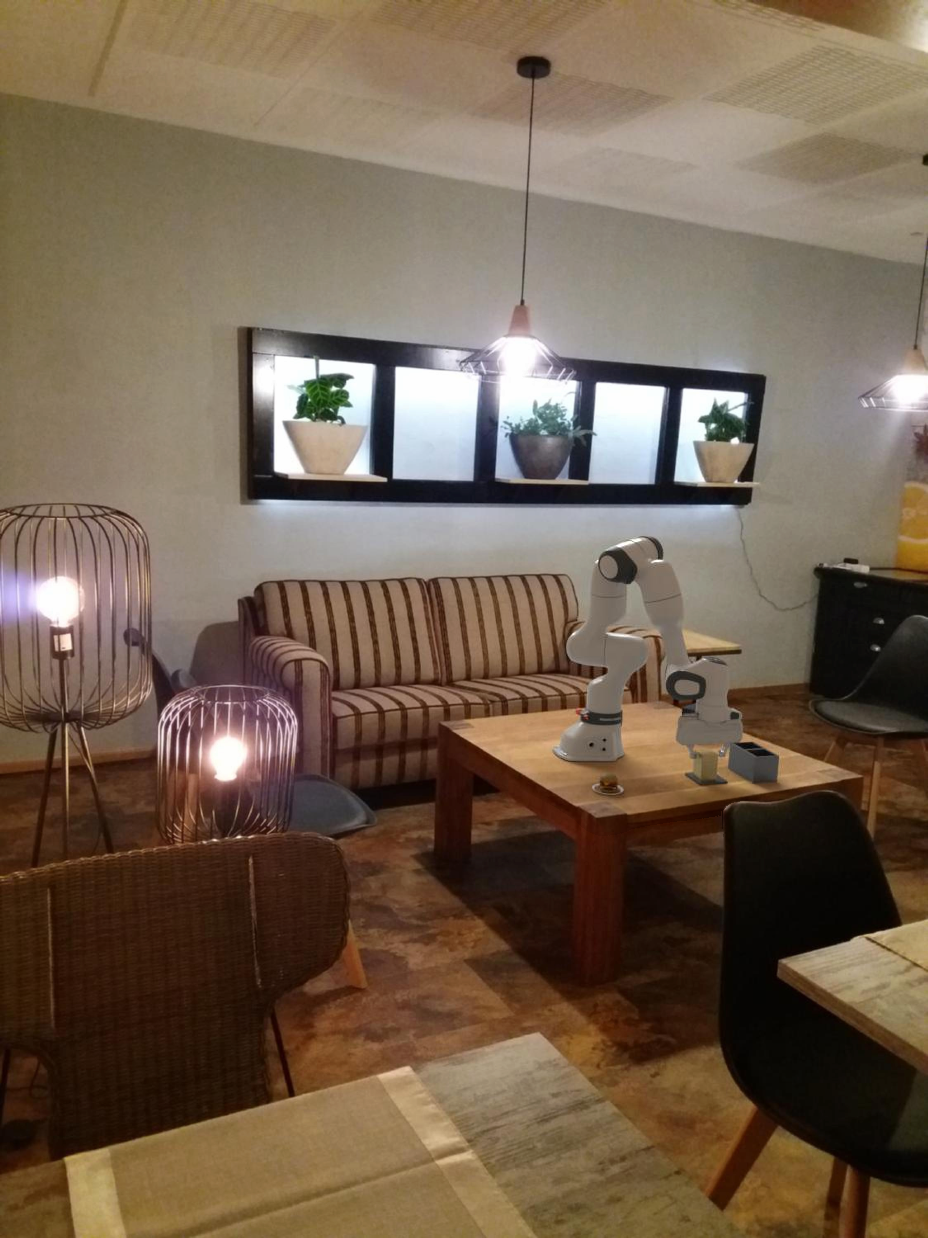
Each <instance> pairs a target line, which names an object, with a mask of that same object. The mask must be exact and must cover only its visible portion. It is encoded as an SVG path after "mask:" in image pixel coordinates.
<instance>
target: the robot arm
mask: <svg viewBox="0 0 928 1238" xmlns="http://www.w3.org/2000/svg"><path fill="white" fill-rule="evenodd" d="M677 577H678V576H676V573H675V570H674V568H673V566H672V564H671V563H670V562H669V561H668V560H665V559H664V548H663V546H662V544H661V542H660V541H659V540H658V539H657V538H655V537H654V536H650V535H640V536H638V537H635V538H634V537H633V538H631V539H627V540H624V541H622V542H620V543H617V544H615V545H614V546H610V547H608V548H606V549H605V550H603V551H602V553H600V555H599V557H598V559H597V560H596V561H595V562H594V564H593V567H592V573H591V579H590V590H589V591H590V595H589V597H590V599H589V610H588V616H587V618H586V620H585V622H584V623H583V625H582V626H580V627H579V628H578V629H577V630H575V631H574V632H572V634H571V633H570V636H569V637H568V639H567V642H566V645H565V646H566V647H565V649H566V654H567V656H568V658H569V659H570V661H572V662H574V663H577V664H581V665H583V666H591V667H592V666H593V667H604V668H607V669H608V670H607V672H606V674H604V675H601V676H598V677H596V678H594V679H593V680H591V681H590V682H589V683H588V685H587V690H586V691H587V692H586V706H585V707H584V709H581V708H579V707H577V708H576V709H575V711H574V712H575V715H577V716H580V718H579V720H577V721H576V722H575V723H573V724H572V725H570V726H569V727H568V728H567V729H565V730H564V731H563V732H562V733H561V736H560V737H561V738H560V743H559V744H554V745H553V748H552V751H553V753H554V754H555V755H557V757H559V758H560V759H563V760H565V761H569V762H616V761H617V760H618V758H619V759H620V758H621V757H623V756H624V755H625V752H624V748H623V741H622V726H623V716H624V715H623V714H624V712H623V709H622V708H623V707H622V706H623V698H624V697H623V696H624V689H625V687H626V684H627V682H628V680H629V678H630V677H631V676H632V675H633V674H634V673H635V672H636V671H637V670H639V669H641V668H642V667H643V666H645V664H646V663H647V661H648V659H649V656H650V648H649V644H648V643H647V640H646V639H645V638H644V637H641V636H638V635H634V634H630V633H624V632H622V633H621V632H610V631H607V628H608V627H611V626H613V625H617V623H620V622H621V621H623V619H624V618H625V617H626V615H627V600H628V599H627V598H628V597H627V596H628V595H627V594H628V585H631V584H632V583H634V582H635V583H636V584H637V585H638V587H639V588H640V593H641V596H642V601H643V605H644V609H645V613H646V614H647V617H648V619H649V621H650V623H651V625H653V627H655V629H657V631H658V632H659V635H660V637H661V640H662V645H663V649H664V654H665V657H666V666H665V669H664V679H665V689H666V693H667V694H668V695H669V696H670V697H671V698H672V699H674V700H677V701H682V702H683V701H684V702H685V701H695V700H696V713H690V714H688V713H685V714H683V715H682V714H681V715H680V716H679V717H678V719H677V728H676V734H675V740H676V742H677V744H678V745H681V746H686V748H687V750H688V752H689V759H691V760H694V759H697V753H695V750H694V749H695V746H697V745H712V744H713V745H715V744H722V747H721V749H720V750H718V753H717V754H718V758H726V754H727V751H728V750H729V749H730V743H736V742H742V740H743V734H744V733H743V732H744V726H743V725H744V724H743V721H742V719H743V713H742V712H741V711H739V710H737V709H735V708H734V707H730V706H728V698H727V695H728V692H729V689H730V669H729V666H728V664H727V662H725V661H724V660H723V659H720V658H718V657H715V656H708V655H707V656H703V657H702V658H700V659H699V660H696V661H695V662H693V661H692V659H691V658H690V657H689V654H688V652H687V651H688V650H687V647H686V643H685V639H684V634H683V622H684V621H683V620H684V617H685V614H684V612H685V611H684V609H685V608H684V600H683V596H682V591H681V587H680V583H679V580H678V578H677Z"/></svg>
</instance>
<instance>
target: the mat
mask: <svg viewBox="0 0 928 1238" xmlns="http://www.w3.org/2000/svg"><path fill="white" fill-rule="evenodd" d="M684 776H686V777H688V778H689V779H691V780H692V781H693V782H694V783H696V784H698V785H699V786H703V785H705V786H708V785H723V784H728V780H727V779H724V777H722V776H720V775H718V774H717V777H716V781H699V780H698V779H697V778H695V777H694V776H693V771H691V772H685V773H684Z"/></svg>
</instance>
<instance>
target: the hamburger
mask: <svg viewBox="0 0 928 1238" xmlns="http://www.w3.org/2000/svg"><path fill="white" fill-rule="evenodd" d="M598 781H599V782H598V783H596V784H595V783H594V784H593V785H592V786H591V789H592V790H593V791H594V792H596V793H598V794H600V795H601V794H602V795H606V796H607V795H608V796H614V795H619V794H622V793H623V792H624V790H625V789H624V788H623V787H622V786H621V785H620V784H619V781H618V777H617V776H616V775H615V774H613V773H611V772H606V773H603V774H601V776H599V780H598ZM597 787H599V790H600V791H601V792H600V791H597V790H596V788H597ZM618 789H619V791H620V792H617V793H616V791H617V790H618Z"/></svg>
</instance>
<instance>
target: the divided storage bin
mask: <svg viewBox="0 0 928 1238" xmlns="http://www.w3.org/2000/svg"><path fill="white" fill-rule="evenodd" d="M728 750H729V752H728V765H727V769H729V770H730V771H732V772H734V773H736V774H737V775H739V776H740V777H742V778H743V779H746V780H747V781H748V782H750V781H751V782H752V783H751V782H750V783H751V784H763V782H766V783H774V782H773V781H777V782H778V776H779V775H778V774H779V773H778V772H779V763H780V755H779V754H777V753H775V752H773V751H771V750H769V749H767V748H766V747H764V746H762V745H761V744H758V743H757V742H755V741H740V742H736V743H730V747H729V749H728Z"/></svg>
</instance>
